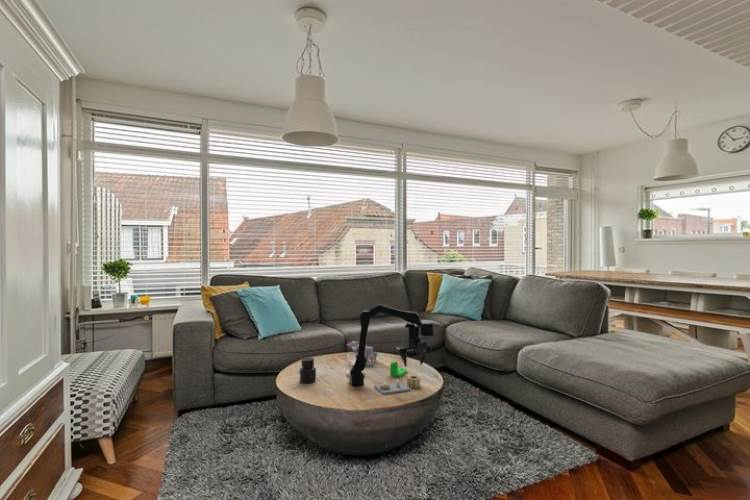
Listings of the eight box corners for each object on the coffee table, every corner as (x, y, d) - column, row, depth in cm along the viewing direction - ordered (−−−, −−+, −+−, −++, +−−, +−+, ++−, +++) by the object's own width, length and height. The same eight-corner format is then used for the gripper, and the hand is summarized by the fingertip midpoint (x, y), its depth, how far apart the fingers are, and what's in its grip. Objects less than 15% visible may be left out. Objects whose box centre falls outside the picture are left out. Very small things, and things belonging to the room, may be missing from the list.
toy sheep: (342, 364, 257) (342, 342, 257) (349, 360, 267) (349, 339, 267) (372, 367, 250) (372, 345, 250) (378, 363, 260) (378, 341, 260)
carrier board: (383, 394, 204) (383, 386, 204) (374, 387, 215) (374, 379, 215) (410, 390, 209) (410, 382, 209) (400, 383, 220) (400, 376, 220)
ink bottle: (307, 377, 232) (307, 355, 231) (319, 379, 227) (319, 358, 227) (295, 382, 223) (295, 359, 223) (308, 384, 219) (308, 362, 219)
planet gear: (410, 388, 213) (410, 380, 213) (405, 384, 219) (405, 376, 219) (422, 387, 215) (422, 378, 215) (416, 383, 221) (416, 374, 221)
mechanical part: (399, 378, 231) (400, 363, 231) (390, 376, 234) (390, 362, 234) (408, 372, 241) (408, 358, 241) (399, 371, 244) (399, 357, 244)
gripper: (404, 340, 206) (404, 371, 206) (436, 337, 213) (436, 367, 213) (395, 336, 216) (394, 365, 216) (426, 333, 223) (426, 362, 223)
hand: (413, 365), depth 217 cm, fingers open, 9 cm apart
